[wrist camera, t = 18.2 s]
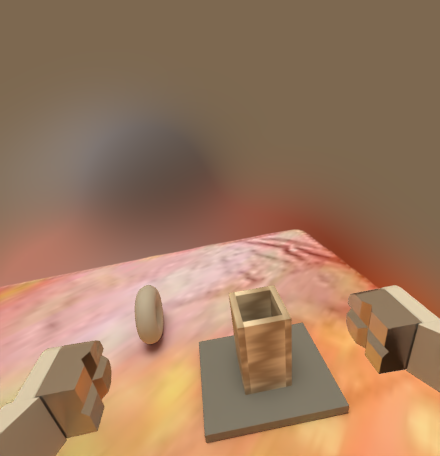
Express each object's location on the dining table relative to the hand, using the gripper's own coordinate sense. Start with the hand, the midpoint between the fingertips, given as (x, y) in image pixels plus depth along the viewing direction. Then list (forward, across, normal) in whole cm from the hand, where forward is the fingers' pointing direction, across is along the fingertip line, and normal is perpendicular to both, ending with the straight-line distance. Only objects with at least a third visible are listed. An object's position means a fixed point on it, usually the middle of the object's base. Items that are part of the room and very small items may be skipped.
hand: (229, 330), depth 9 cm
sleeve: (+19, -5, +28) cm, 35 cm away
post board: (+19, -5, +30) cm, 36 cm away
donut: (+31, +12, +30) cm, 45 cm away
